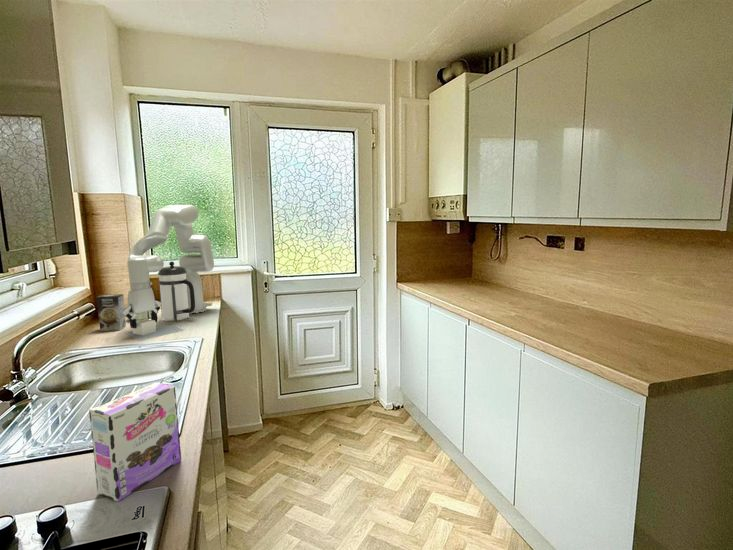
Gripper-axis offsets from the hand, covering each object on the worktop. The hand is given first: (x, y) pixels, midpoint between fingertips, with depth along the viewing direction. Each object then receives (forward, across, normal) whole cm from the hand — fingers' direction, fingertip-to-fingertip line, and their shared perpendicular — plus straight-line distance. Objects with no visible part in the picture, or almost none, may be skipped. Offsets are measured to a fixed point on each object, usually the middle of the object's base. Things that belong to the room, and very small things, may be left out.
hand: (144, 324), depth 175 cm
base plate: (+5, -2, +4) cm, 6 cm away
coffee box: (+5, -1, -25) cm, 25 cm away
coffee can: (+6, -19, -30) cm, 36 cm away
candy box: (+4, +64, +92) cm, 112 cm away
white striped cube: (+3, 0, 0) cm, 3 cm away
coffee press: (+6, -24, -8) cm, 26 cm away
